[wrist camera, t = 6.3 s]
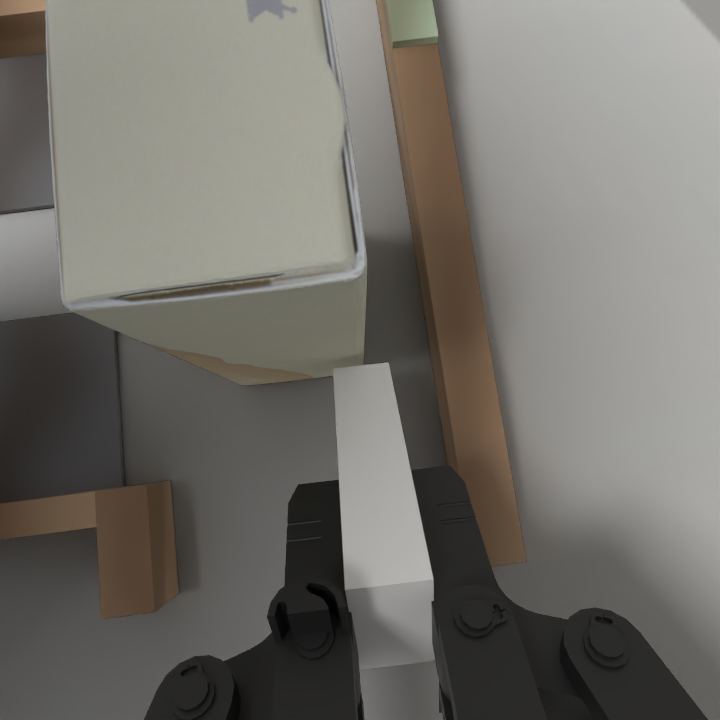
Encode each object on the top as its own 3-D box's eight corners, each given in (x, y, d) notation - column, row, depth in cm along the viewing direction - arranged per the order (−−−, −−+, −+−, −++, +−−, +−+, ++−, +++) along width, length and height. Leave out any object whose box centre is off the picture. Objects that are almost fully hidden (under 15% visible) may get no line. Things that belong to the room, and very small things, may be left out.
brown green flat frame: (-108, 631, 17) (-251, 687, 13) (-102, -30, 21) (-211, -142, 17) (531, 545, 17) (581, 574, 13) (420, -92, 21) (433, -217, 17)
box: (226, 246, 19) (35, -32, 8) (348, 231, 19) (326, -66, 8) (240, 395, 18) (47, 314, 7) (368, 379, 18) (373, 273, 7)
